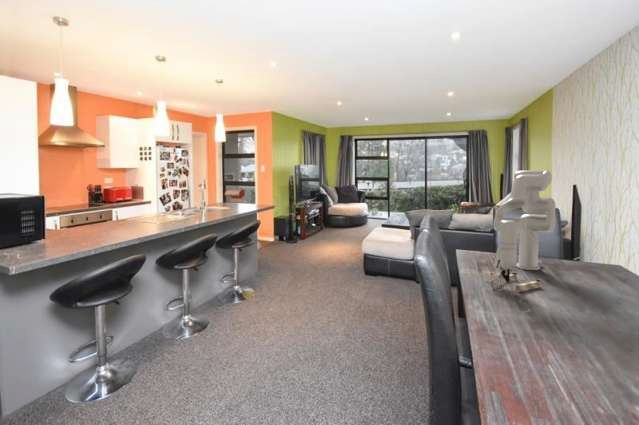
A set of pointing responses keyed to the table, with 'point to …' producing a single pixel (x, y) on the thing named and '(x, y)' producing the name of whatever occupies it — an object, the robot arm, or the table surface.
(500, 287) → the game die
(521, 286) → the parallel beige rails
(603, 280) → the table surface
